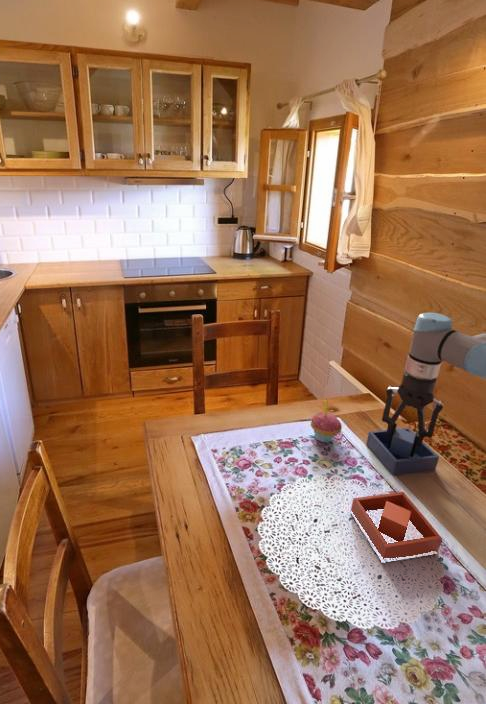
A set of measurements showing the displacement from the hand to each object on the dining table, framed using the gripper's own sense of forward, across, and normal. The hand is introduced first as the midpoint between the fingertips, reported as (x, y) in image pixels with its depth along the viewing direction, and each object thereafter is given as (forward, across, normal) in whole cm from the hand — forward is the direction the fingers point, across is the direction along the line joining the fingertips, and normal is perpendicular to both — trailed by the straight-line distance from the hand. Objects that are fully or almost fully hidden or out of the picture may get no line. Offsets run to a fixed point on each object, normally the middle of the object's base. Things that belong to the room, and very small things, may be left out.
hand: (400, 449), depth 110 cm
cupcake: (+3, -20, -4) cm, 20 cm away
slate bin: (+3, 0, 0) cm, 3 cm away
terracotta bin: (+2, +4, -28) cm, 28 cm away
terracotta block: (+2, +4, -28) cm, 28 cm away
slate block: (0, 0, 0) cm, 0 cm away
